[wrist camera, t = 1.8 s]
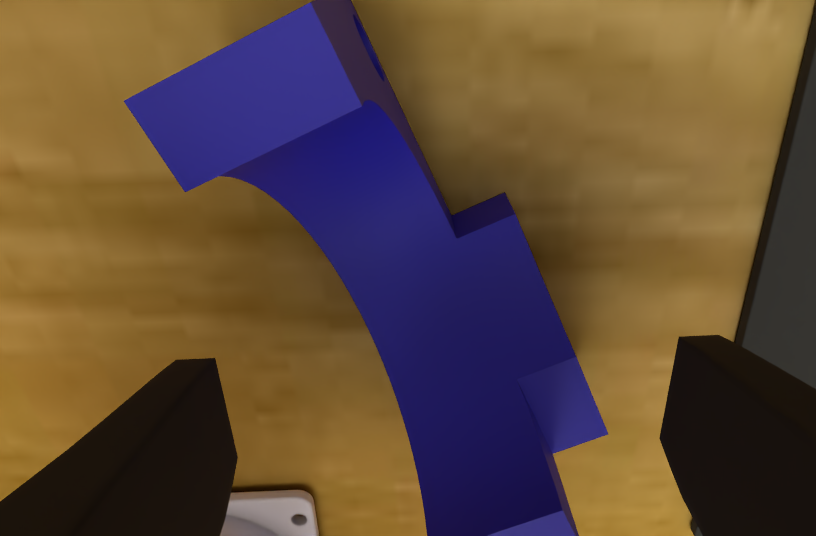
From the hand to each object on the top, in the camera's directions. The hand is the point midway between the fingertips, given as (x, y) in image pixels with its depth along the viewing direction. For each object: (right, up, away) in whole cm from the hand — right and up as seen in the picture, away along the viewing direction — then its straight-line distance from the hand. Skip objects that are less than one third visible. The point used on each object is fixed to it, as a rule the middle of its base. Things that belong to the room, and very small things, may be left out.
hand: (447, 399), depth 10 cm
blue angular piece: (0, +3, +7) cm, 7 cm away
